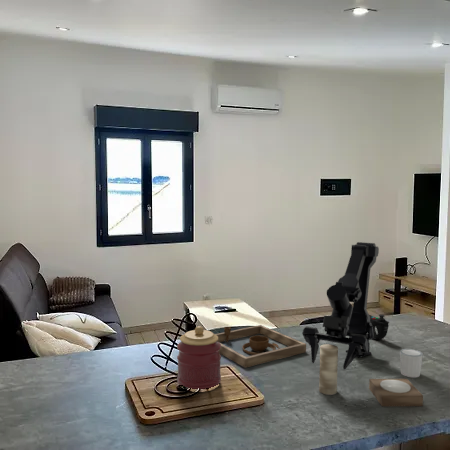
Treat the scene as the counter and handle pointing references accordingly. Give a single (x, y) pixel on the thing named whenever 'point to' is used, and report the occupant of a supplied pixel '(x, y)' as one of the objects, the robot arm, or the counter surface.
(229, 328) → the place setting
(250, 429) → the counter surface
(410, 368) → the white short cylinder
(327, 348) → the birch pillar
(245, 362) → the oak tray rim
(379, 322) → the controller
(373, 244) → the robot arm
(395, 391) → the walnut plinth
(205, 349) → the canister
